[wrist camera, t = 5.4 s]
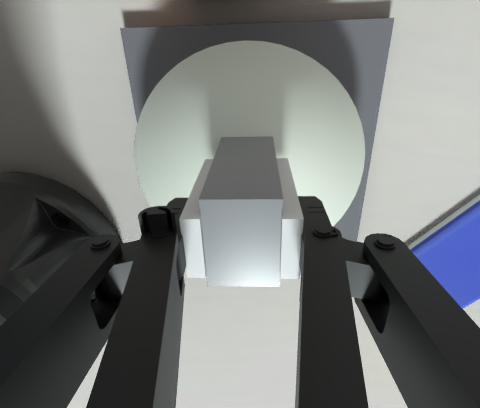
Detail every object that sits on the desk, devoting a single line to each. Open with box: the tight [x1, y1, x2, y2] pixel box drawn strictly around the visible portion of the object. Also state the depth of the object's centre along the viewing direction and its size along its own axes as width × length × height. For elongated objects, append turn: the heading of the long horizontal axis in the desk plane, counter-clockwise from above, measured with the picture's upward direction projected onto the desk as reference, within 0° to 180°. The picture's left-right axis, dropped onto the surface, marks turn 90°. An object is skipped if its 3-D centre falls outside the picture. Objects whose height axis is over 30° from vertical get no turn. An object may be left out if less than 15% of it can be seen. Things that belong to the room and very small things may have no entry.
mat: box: [120, 18, 394, 242], centre depth 22 cm, size 16×16×1 cm
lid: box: [134, 40, 365, 287], centre depth 16 cm, size 14×14×9 cm
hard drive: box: [407, 194, 480, 309], centre depth 26 cm, size 2×8×12 cm
